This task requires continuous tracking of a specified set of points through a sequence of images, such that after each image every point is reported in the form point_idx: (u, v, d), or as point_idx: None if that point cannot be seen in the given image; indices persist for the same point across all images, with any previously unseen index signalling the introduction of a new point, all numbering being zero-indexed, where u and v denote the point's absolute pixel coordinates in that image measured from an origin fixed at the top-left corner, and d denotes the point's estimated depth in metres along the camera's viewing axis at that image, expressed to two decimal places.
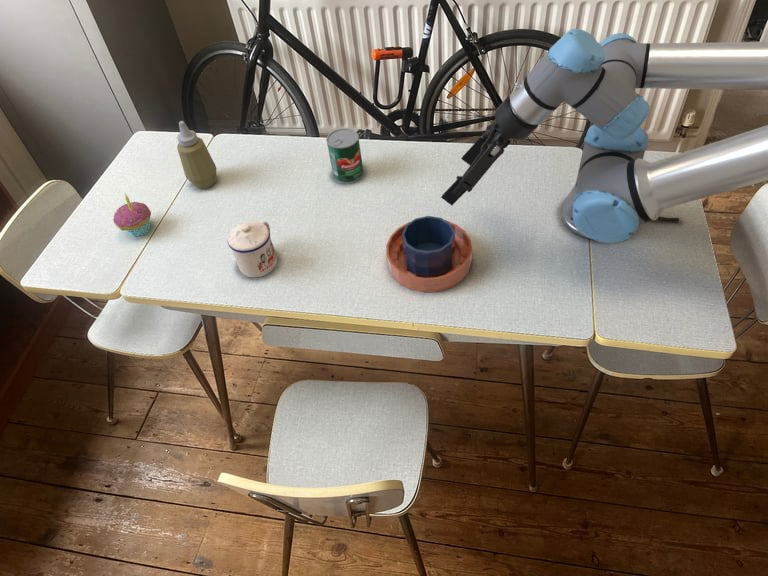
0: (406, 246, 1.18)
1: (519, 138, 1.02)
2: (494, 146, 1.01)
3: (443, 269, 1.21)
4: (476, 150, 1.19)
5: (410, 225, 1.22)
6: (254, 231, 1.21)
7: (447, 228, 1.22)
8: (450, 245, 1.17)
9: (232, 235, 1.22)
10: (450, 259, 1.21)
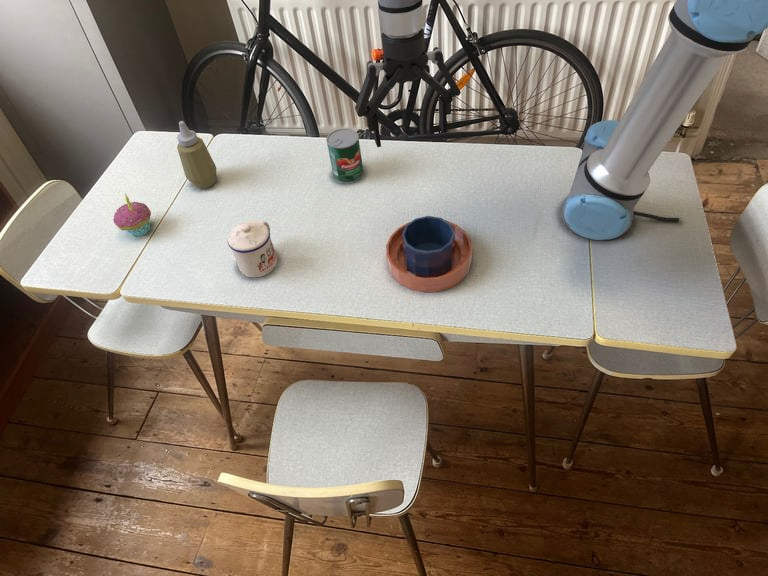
0: (406, 246, 1.18)
1: (391, 56, 1.01)
2: (367, 64, 1.04)
3: (443, 269, 1.21)
4: (440, 111, 1.13)
5: (410, 225, 1.22)
6: (254, 231, 1.21)
7: (447, 228, 1.22)
8: (450, 245, 1.17)
9: (232, 235, 1.22)
10: (450, 259, 1.21)
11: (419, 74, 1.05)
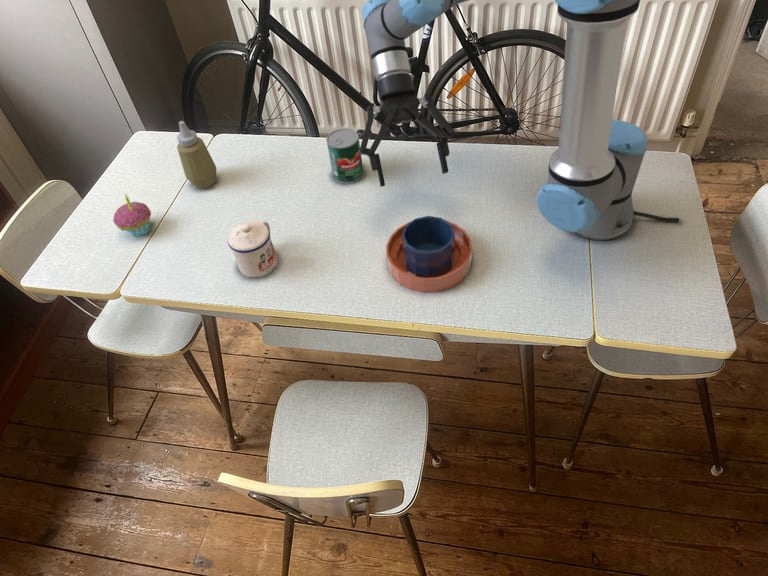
0: (406, 246, 1.18)
1: (384, 92, 1.18)
2: None
3: (443, 269, 1.21)
4: (439, 154, 1.22)
5: (410, 225, 1.22)
6: (254, 231, 1.21)
7: (447, 228, 1.22)
8: (450, 245, 1.17)
9: (232, 235, 1.22)
10: (450, 259, 1.21)
11: (412, 111, 1.19)
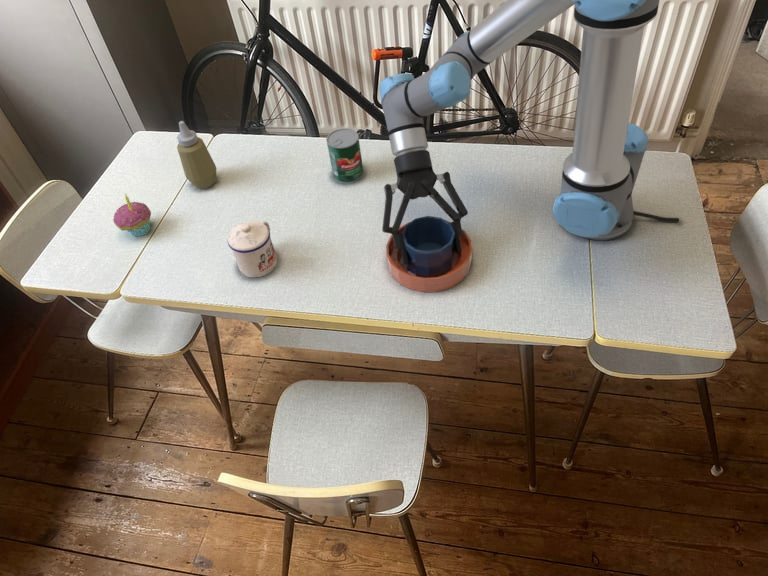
0: (406, 246, 1.18)
1: (401, 169, 1.17)
2: (384, 187, 1.20)
3: (443, 269, 1.21)
4: None
5: (410, 225, 1.22)
6: (254, 231, 1.21)
7: (447, 228, 1.22)
8: (450, 245, 1.17)
9: (232, 235, 1.22)
10: (450, 259, 1.21)
11: (429, 188, 1.18)
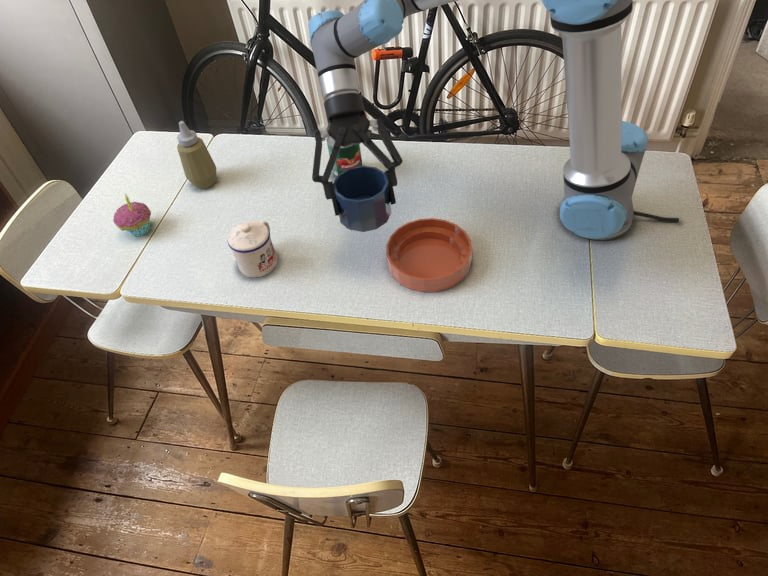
0: (336, 195, 1.11)
1: (331, 113, 1.10)
2: None
3: (377, 221, 1.14)
4: None
5: (343, 175, 1.15)
6: (254, 231, 1.21)
7: (382, 178, 1.15)
8: (382, 194, 1.11)
9: (232, 235, 1.22)
10: (384, 210, 1.14)
11: (360, 134, 1.11)
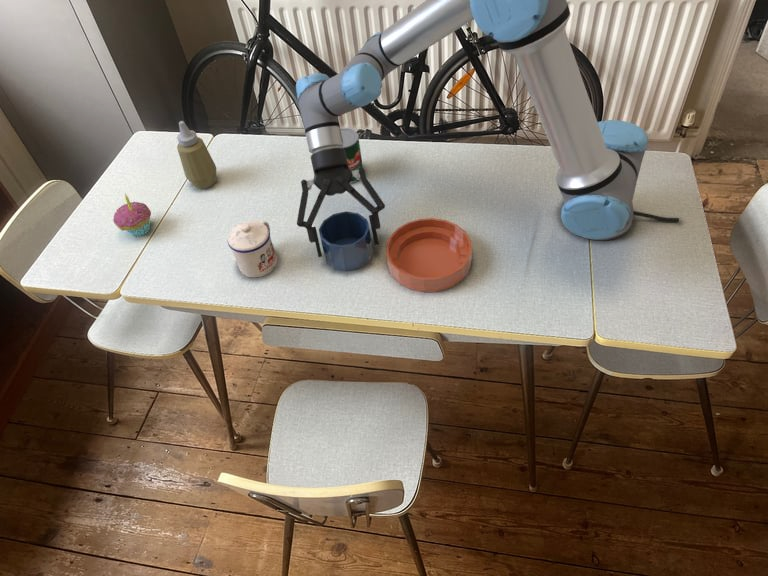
0: (322, 240, 1.22)
1: (316, 167, 1.21)
2: None
3: (359, 262, 1.25)
4: (371, 227, 1.25)
5: (328, 220, 1.26)
6: (254, 231, 1.21)
7: (364, 223, 1.26)
8: (364, 239, 1.21)
9: (232, 235, 1.22)
10: (366, 253, 1.24)
11: (344, 184, 1.22)
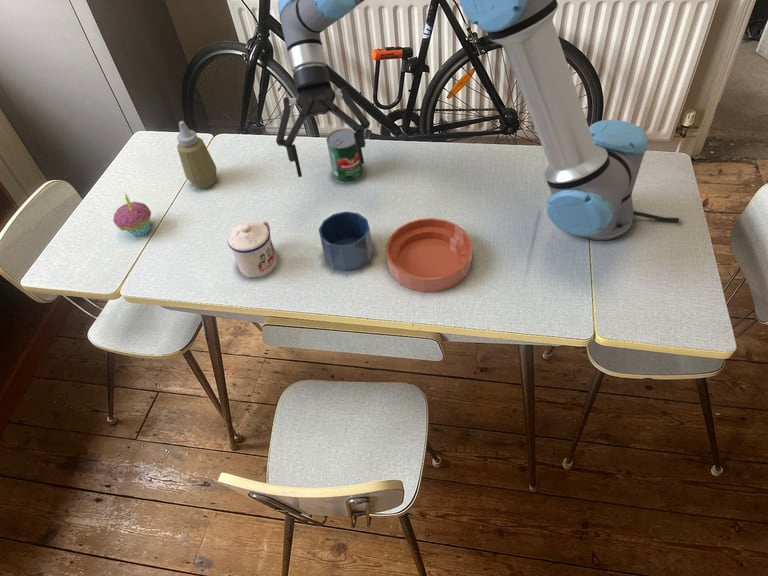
0: (322, 240, 1.22)
1: (298, 84, 1.20)
2: None
3: (359, 262, 1.25)
4: (356, 145, 1.25)
5: (328, 220, 1.26)
6: (254, 231, 1.21)
7: (364, 223, 1.26)
8: (364, 239, 1.21)
9: (232, 235, 1.22)
10: (366, 253, 1.24)
11: (327, 103, 1.22)
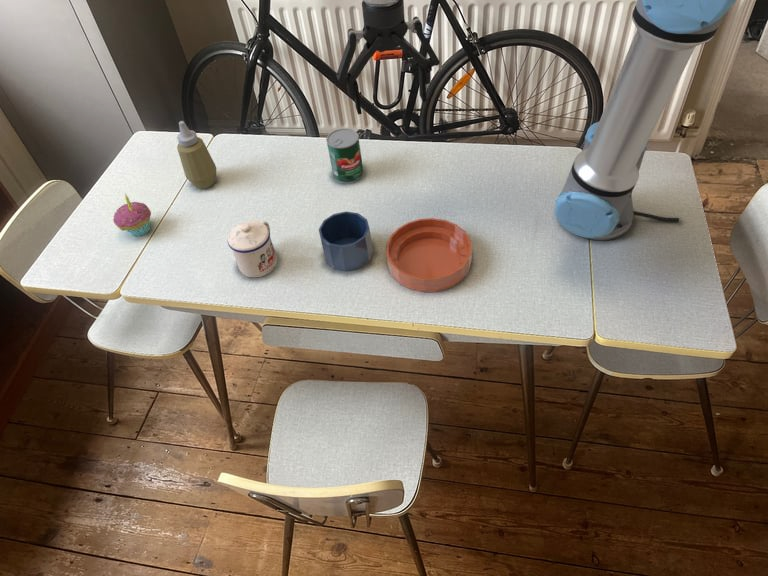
0: (322, 240, 1.22)
1: (370, 24, 1.03)
2: (348, 31, 1.06)
3: (359, 262, 1.25)
4: (420, 80, 1.16)
5: (328, 220, 1.26)
6: (254, 231, 1.21)
7: (364, 223, 1.26)
8: (364, 239, 1.21)
9: (232, 235, 1.22)
10: (366, 253, 1.24)
11: (398, 43, 1.08)
